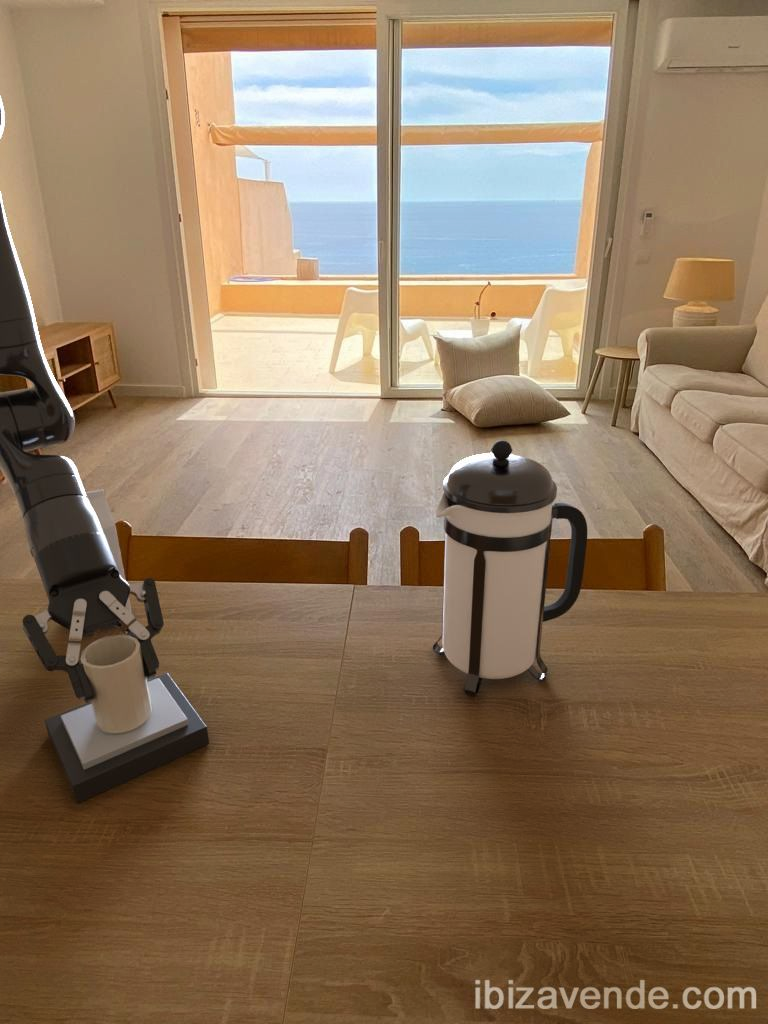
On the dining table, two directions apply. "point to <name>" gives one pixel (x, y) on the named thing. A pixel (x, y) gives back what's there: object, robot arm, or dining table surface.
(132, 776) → the scale
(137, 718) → the cup
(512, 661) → the coffee press
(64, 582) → the robot arm
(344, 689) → the dining table surface
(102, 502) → the milk carton
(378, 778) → the dining table surface
